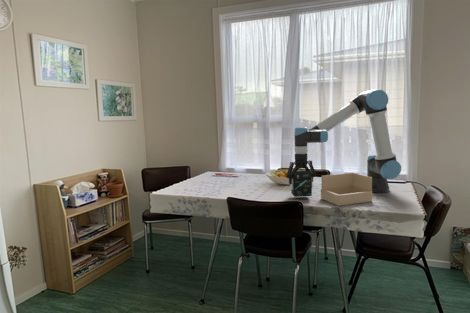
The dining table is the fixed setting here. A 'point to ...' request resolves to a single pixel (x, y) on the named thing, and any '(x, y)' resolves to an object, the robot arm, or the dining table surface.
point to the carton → (346, 189)
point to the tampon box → (302, 183)
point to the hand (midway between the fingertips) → (301, 188)
